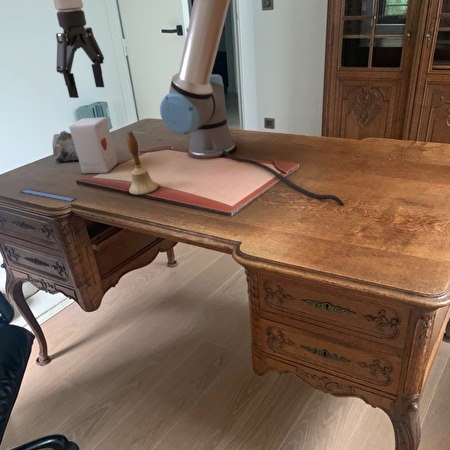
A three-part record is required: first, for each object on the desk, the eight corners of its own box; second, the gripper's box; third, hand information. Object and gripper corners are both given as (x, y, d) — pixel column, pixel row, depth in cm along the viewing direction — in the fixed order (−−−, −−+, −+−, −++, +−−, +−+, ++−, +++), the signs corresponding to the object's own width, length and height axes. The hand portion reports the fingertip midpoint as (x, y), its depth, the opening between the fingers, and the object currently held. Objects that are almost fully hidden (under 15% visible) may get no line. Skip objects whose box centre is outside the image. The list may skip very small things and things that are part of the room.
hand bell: (130, 197, 121) (116, 138, 112) (127, 186, 128) (113, 130, 119) (160, 191, 123) (148, 132, 113) (155, 181, 129) (144, 125, 120)
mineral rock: (98, 158, 154) (90, 128, 148) (71, 168, 148) (62, 137, 142) (78, 153, 161) (70, 124, 156) (52, 162, 155) (42, 133, 150)
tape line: (74, 199, 125) (74, 198, 125) (70, 201, 124) (70, 200, 124) (25, 190, 135) (25, 189, 135) (21, 192, 134) (21, 191, 134)
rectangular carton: (107, 173, 140) (94, 124, 131) (82, 174, 142) (67, 126, 133) (118, 163, 147) (106, 116, 138) (94, 164, 149) (81, 118, 140)
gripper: (85, 6, 133) (100, 82, 146) (28, 15, 115) (51, 101, 128) (106, 5, 131) (119, 83, 144) (51, 14, 113) (72, 102, 126)
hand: (87, 92), depth 136 cm, fingers open, 13 cm apart
